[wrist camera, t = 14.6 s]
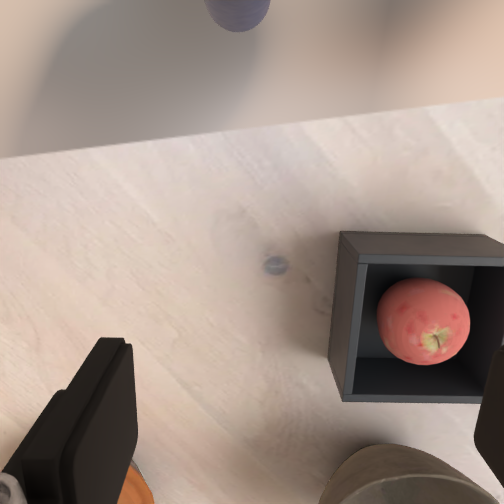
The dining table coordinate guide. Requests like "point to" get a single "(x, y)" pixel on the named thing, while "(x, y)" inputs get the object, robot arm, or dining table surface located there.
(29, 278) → the dining table surface
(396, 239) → the bin
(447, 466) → the bowl
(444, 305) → the apple
